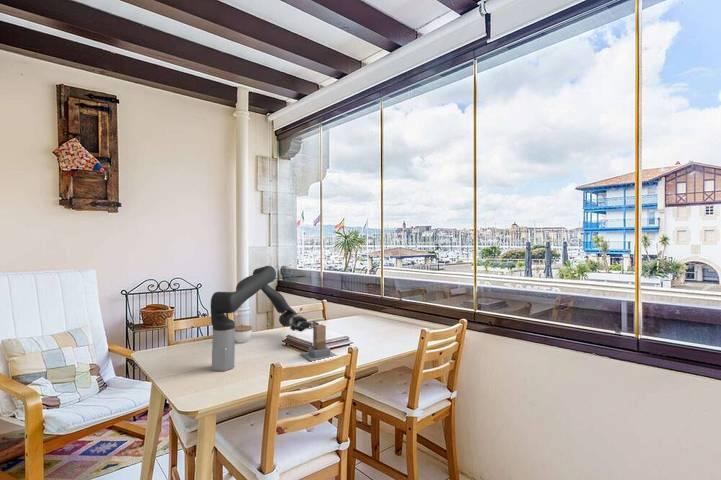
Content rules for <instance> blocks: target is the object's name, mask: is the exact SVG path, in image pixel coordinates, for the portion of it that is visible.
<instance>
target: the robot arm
mask: <svg viewBox="0 0 721 480" xmlns="http://www.w3.org/2000/svg"><path fill="white" fill-rule="evenodd" d="M276 271H277V270H276V269H275V268H274V267H273V266H271V265H265V266H261V267H257V268H256V269H254V270H253V272H252V274H251V275H248V276H247V277H244V278H243V279H241V280H240V281H239V282H238V283H237V284H236V287H235V291H215V292H214V293H213V294H212V295H211V298H210V321H211V325H212V341H211V342H212V349H211V371H217V372H218V371H221V372H225V371H226V372H227V371H228V370H231V369H233V368H235V345H236V344H235V343H236V341H235V326H236V324H235V320H233V319H231V318H229V317H227V316H226V314H233V313H235V312H236V311H238V310H239V308H241V306H242V305H243V304H244V303H245V302H246V301H248V300H249V299H250V298H251V297H253V296H254V295H255V294H257V293H258V292H259V291H262V292H263V294H265V296H266V297H267V298H268V299H269V300H270V302H271V303H272V305H273V307H274V308H275V311H276V312H277V313H279V314H281V315H279V318H278V322H279V323H280V324H281V325H282V327H287V328H288V327H290V328H289V329H290V330H291V331H293V332H294V331H298V332H300V333H301V332H303V331H305V330H313V325H320V323H319V322H317V321H308V320H307V319H306V317H304V316H302V315H299V314H298V312H296V310H294V309H293V308H292V307H291V306H290V305H289V304H288V302H287V301H286V299H285V297H284V296H283V295H282V294H281V293H280V292H279V291H277V290H276V289H274V288H273V287H271V286H270V285H269V284H270V283H273V282H274V281H275V279H276V277H277V272H276Z"/></svg>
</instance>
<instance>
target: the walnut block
mask: <svg viewBox="0 0 721 480" xmlns="http://www.w3.org/2000/svg"><path fill="white" fill-rule="evenodd" d="M312 327H313V328H312V331H313V332H312V333H313V334H312V335H313V336H312V345H313V346H312V347H313V349H315V350H323V349H326V347H327V346H326V345H327V344H326V340H327V338H326V335H327V334H326V332H327V330H326V329H327V328H326V325H324V324H323V323H322V324H319V325H313V326H312Z"/></svg>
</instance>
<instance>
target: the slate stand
mask: <svg viewBox="0 0 721 480" xmlns="http://www.w3.org/2000/svg"><path fill="white" fill-rule="evenodd" d="M307 349H308V350H307V351H306V352H305V351H304V352H300V353H299V354H300V356H301V357H303V358H305V359H306V360H307V361H308V362H310V363H311V362H312V361H316V360H321V359H325V358H329V357H333V356H338V355H337V354H335V353H333V352H332V351H331V348H329V347H327V346H326V349H323V350H315V349H313V346H309V347H308V348H307ZM312 363H313V362H312Z"/></svg>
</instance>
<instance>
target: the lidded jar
mask: <svg viewBox="0 0 721 480" xmlns="http://www.w3.org/2000/svg"><path fill="white" fill-rule="evenodd" d="M252 334H253V327H252V326H251V325H245V324H243V323H242V324H241V325H235V343H236V344H244V343H248V342H249V340H250V339H251V337H252Z"/></svg>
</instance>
